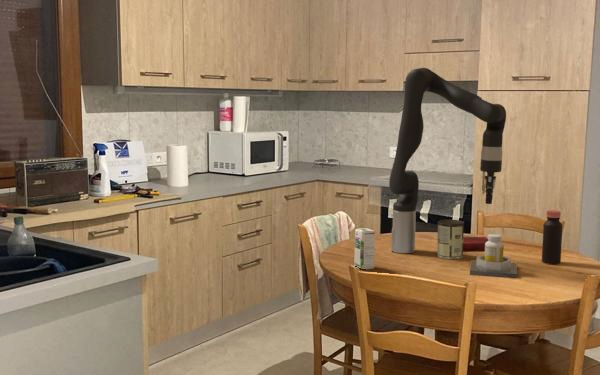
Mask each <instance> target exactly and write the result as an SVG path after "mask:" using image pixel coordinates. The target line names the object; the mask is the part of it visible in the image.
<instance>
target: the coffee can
mask: <svg viewBox="0 0 600 375" xmlns="http://www.w3.org/2000/svg"><path fill="white" fill-rule="evenodd" d="M464 225H465V221H463V220H460V219H459V220H458V219H448V218H447V219H440V220H437V246H436V247H437V248H436V249H437V251H436V252H437V253H436V254H437V255H436V256H437V257H438V258H441V259H444V260H445V259H446V260H458V259H463V258H464V251H463V237H464V232H465V230H464V229H465V228H464Z"/></svg>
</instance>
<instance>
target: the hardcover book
mask: <svg viewBox="0 0 600 375" xmlns="http://www.w3.org/2000/svg"><path fill="white" fill-rule="evenodd" d="M488 240H489V239H488V236H463V252H485V243H486V242H487V241H488Z"/></svg>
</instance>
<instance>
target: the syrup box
mask: <svg viewBox="0 0 600 375" xmlns="http://www.w3.org/2000/svg"><path fill="white" fill-rule="evenodd" d="M354 234H355V235H354V263H353V264H354V265H353V266H354V267H355V266H357V267H359V268H361V269H366V270H372V269H375V250H376V248H375V247H376V245H375V244H376V231H375V230H372V229H370V228H366V227H365V228H364V227H359V228H356V229H355V230H354ZM357 267H356V268H357ZM359 268H358V269H359Z"/></svg>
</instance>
